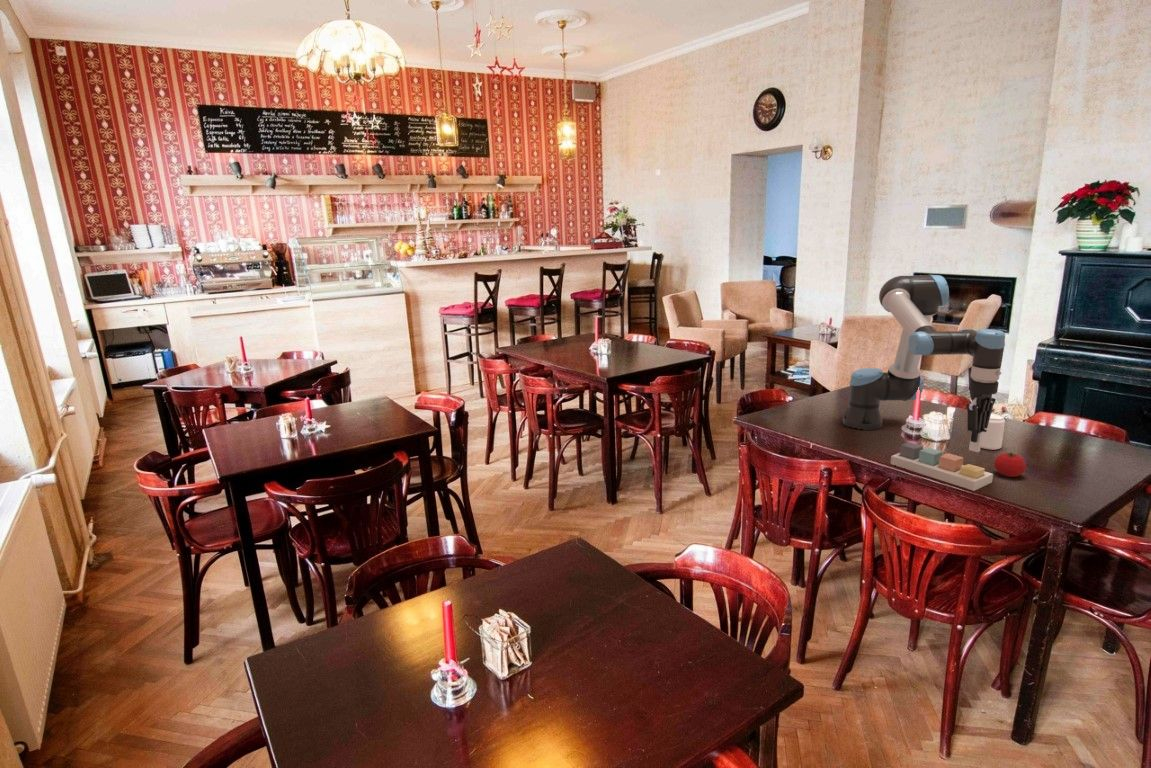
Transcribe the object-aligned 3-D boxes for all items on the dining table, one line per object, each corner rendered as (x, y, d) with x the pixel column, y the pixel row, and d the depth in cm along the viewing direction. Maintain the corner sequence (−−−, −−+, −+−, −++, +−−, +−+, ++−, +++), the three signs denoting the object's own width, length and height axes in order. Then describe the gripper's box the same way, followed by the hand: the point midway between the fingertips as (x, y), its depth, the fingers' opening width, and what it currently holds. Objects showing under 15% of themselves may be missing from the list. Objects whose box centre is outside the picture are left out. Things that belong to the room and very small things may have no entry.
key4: (958, 479, 205) (960, 467, 203) (967, 476, 207) (968, 463, 206) (974, 485, 200) (976, 472, 199) (983, 481, 203) (984, 468, 202)
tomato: (1013, 482, 203) (1016, 459, 201) (986, 472, 211) (989, 450, 209) (1030, 477, 207) (1034, 454, 205) (1003, 468, 214) (1006, 446, 212)
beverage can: (993, 443, 237) (998, 412, 234) (1005, 450, 230) (1010, 419, 227) (971, 443, 238) (975, 412, 235) (982, 450, 230) (986, 419, 227)
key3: (938, 468, 210) (939, 456, 209) (946, 465, 212) (948, 453, 211) (953, 473, 206) (955, 460, 205) (961, 469, 208) (963, 457, 207)
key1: (899, 456, 221) (900, 445, 220) (907, 453, 224) (909, 442, 222) (913, 461, 217) (914, 449, 216) (921, 457, 219) (923, 446, 218)
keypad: (890, 463, 221) (891, 455, 220) (908, 457, 227) (909, 449, 226) (973, 490, 198) (975, 482, 197) (991, 482, 204) (993, 473, 203)
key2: (918, 462, 215) (919, 450, 214) (926, 459, 218) (928, 447, 217) (933, 467, 211) (934, 454, 210) (941, 463, 214) (942, 451, 213)
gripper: (986, 385, 189) (975, 458, 195) (1008, 378, 195) (997, 449, 202) (960, 380, 195) (951, 451, 201) (982, 373, 202) (972, 442, 208)
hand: (974, 450), depth 201 cm, fingers closed
